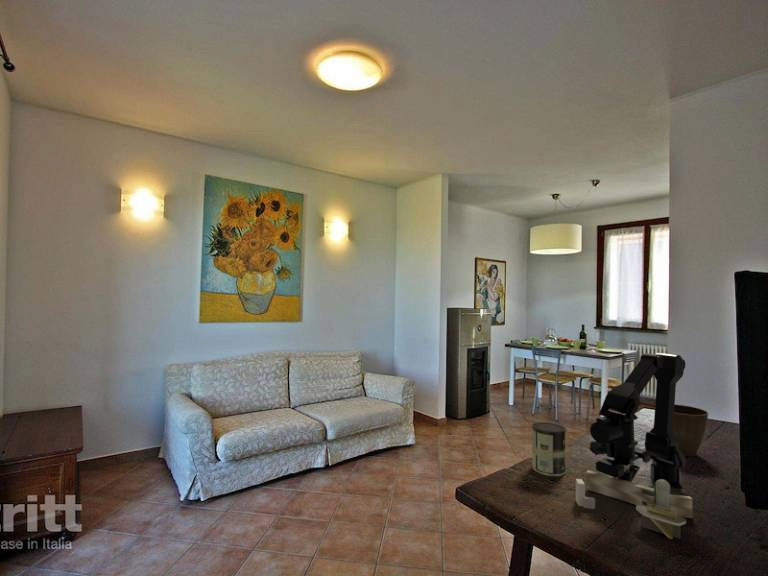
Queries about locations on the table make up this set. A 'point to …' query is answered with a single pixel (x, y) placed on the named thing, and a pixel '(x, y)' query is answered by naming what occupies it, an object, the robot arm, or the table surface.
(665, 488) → the hinge post
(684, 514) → the block
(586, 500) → the cream l-shaped block
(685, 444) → the plant pot
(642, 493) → the cream wooden bar
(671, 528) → the platform
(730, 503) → the table surface
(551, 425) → the coffee can
